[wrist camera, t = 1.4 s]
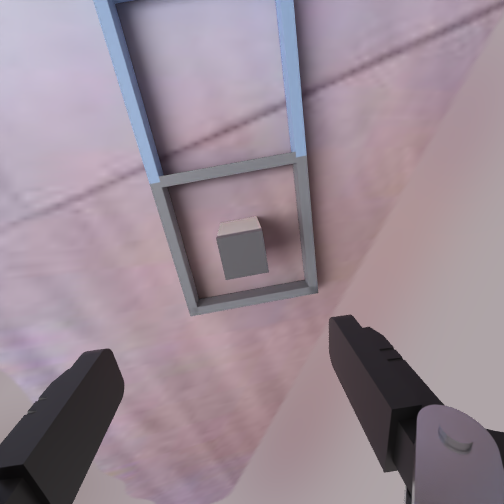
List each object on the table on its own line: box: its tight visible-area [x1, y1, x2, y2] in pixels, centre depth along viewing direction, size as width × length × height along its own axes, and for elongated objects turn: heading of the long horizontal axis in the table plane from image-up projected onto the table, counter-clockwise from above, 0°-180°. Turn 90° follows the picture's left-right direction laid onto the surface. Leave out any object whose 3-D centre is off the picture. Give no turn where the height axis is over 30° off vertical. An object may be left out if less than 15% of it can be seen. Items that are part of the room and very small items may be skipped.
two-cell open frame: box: [93, 0, 318, 316], centre depth 24 cm, size 15×30×2 cm, turn 10°
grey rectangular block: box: [216, 216, 269, 280], centre depth 24 cm, size 4×4×6 cm
